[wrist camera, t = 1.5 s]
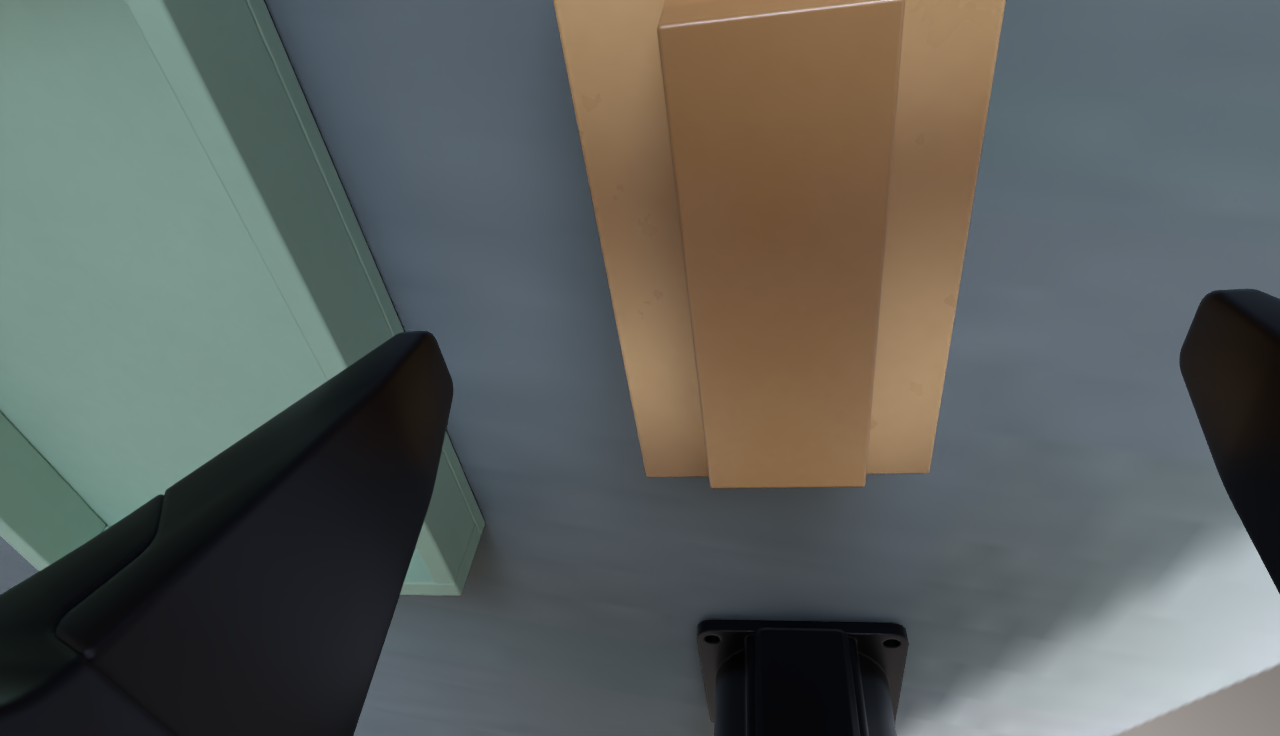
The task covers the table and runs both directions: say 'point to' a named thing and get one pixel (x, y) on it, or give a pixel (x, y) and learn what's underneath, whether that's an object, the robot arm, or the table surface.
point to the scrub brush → (782, 222)
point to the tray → (170, 266)
